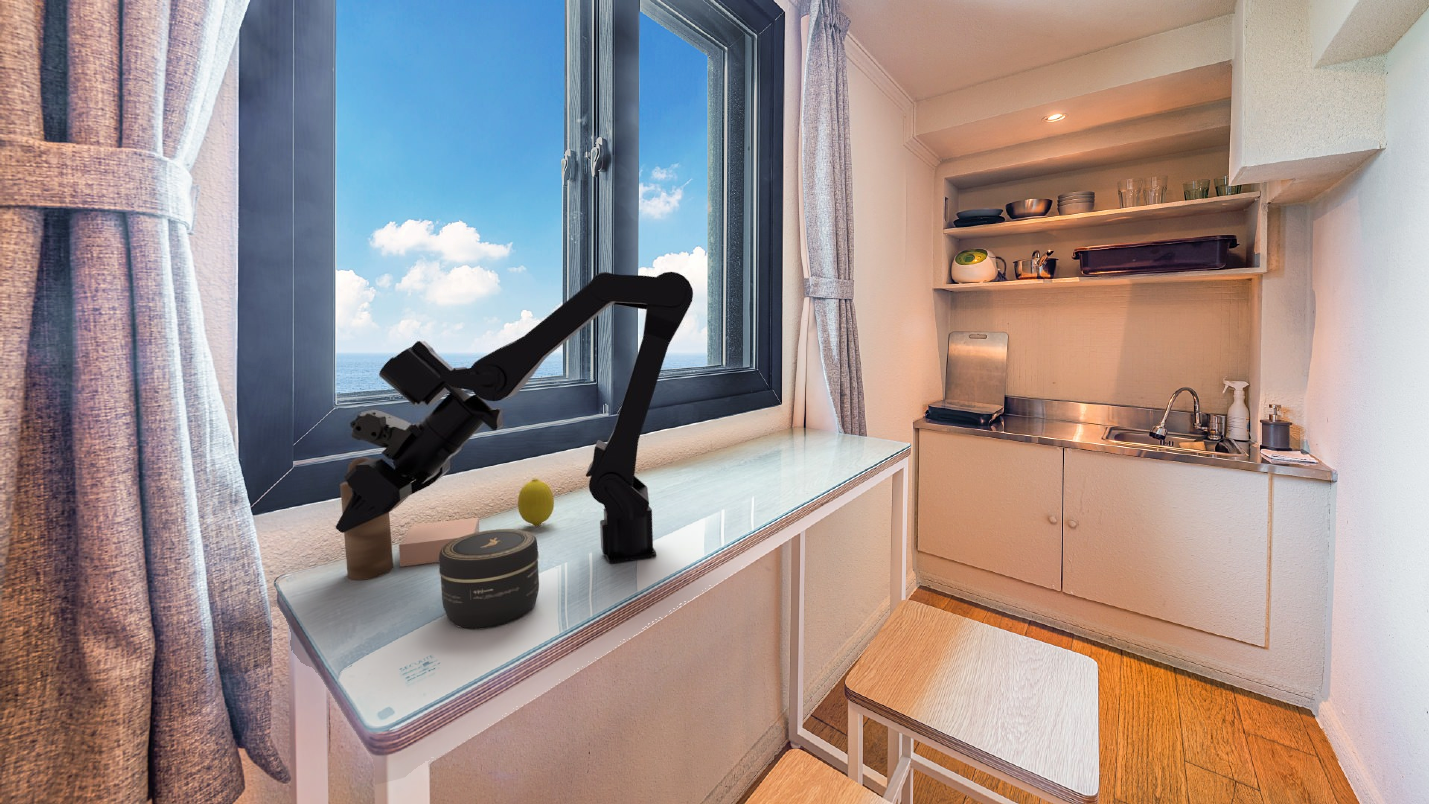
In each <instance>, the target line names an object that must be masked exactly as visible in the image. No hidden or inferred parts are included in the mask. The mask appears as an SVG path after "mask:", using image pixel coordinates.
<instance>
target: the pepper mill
mask: <svg viewBox="0 0 1429 804" xmlns="http://www.w3.org/2000/svg"><path fill="white" fill-rule="evenodd" d="M369 459H371V458H370V457H367V456H365V457H364V456H361V457H357V458H355V459H353V460H352V461H351V462H350V463H349V465H348V467H347V473H348V472H349V471H350V470H351V469H352V468H353V467H354V466H355V465H357V464H360V463H362V462H364V461H367V460H369ZM339 488H340V489H339V490H340V498H341V499H340V500H341V501H340V503H341V512H342V513H341V515H342V514H343V512H344V510H345V508H346V507H347V505H348V503H349V501H350V499H351V497H352V489H351V488H350V487H349V486H348V484H347V482H346V481H343V482H342V483H340V484H339ZM390 518H391V517H390V512H389V513H387V514H384V515H381V516H379V517H377V518H375V519H372V520H370V521H368V522H366V523H363V524H361V525H359V526H357V527H355V528H353V529H350V530H348V531H346V532H344V533H343V536H344V537H343V538H344V548H345V560H346V571H347V579H349V580H352V581H363V580H364V581H365V580H371V579H375V578H379V577H382V576H384V575H386V574H388V573H391V572H392V571H393V569H394V559H393V557H394V556H393V545H392V543H393V542H392V532H391V520H390Z"/></svg>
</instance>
